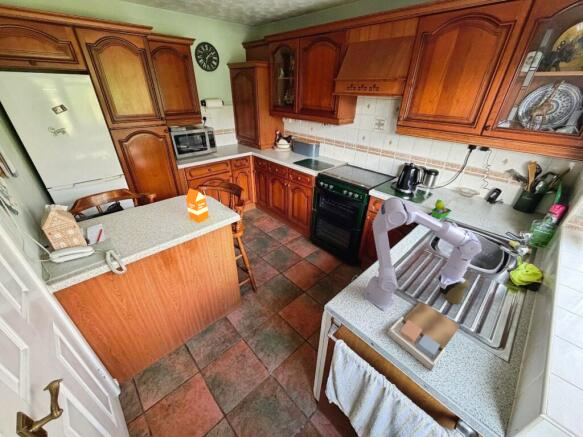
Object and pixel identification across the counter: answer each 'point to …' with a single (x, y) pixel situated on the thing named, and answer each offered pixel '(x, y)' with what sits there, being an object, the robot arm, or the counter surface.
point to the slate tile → (428, 346)
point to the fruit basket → (440, 210)
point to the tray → (413, 346)
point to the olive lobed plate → (457, 293)
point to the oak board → (432, 324)
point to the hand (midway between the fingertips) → (442, 292)
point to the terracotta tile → (411, 331)
